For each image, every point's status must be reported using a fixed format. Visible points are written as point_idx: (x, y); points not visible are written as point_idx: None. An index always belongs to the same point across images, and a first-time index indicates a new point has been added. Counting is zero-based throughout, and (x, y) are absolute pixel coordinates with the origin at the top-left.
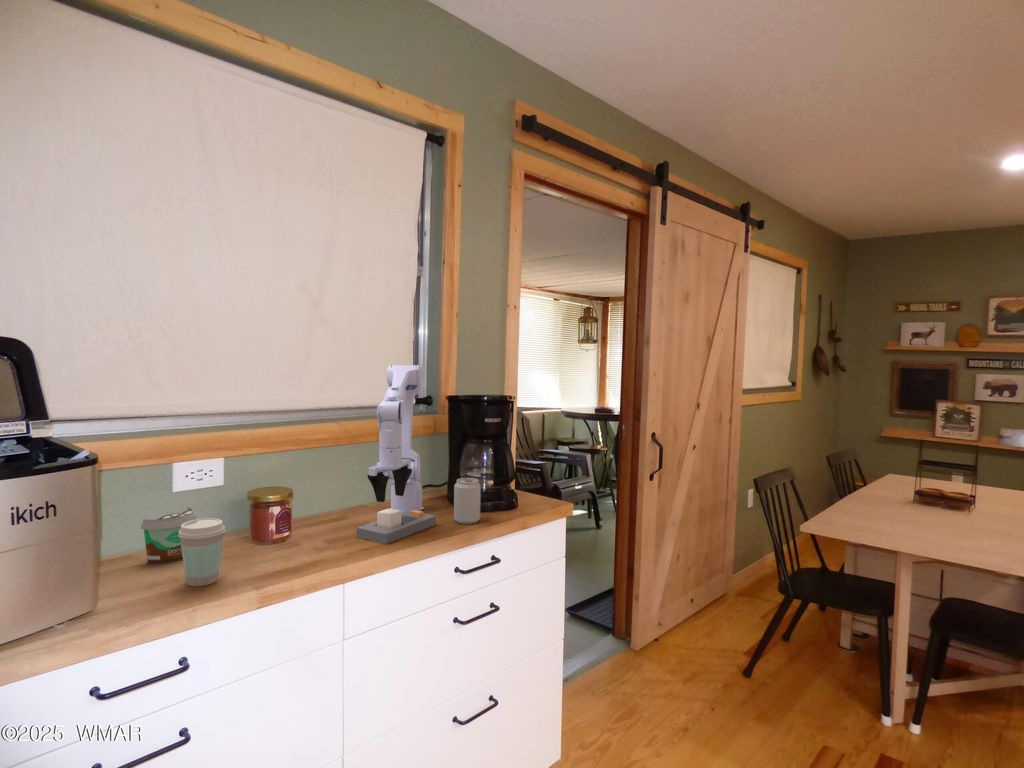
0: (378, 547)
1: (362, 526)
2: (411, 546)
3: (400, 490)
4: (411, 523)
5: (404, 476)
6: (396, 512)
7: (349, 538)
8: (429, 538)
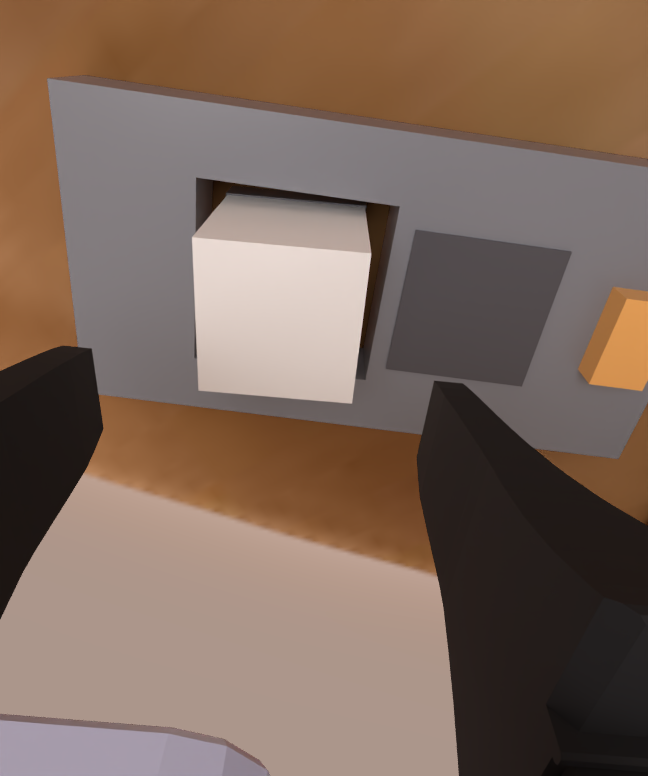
0: (40, 352)
1: (109, 106)
2: (167, 484)
3: (433, 483)
4: (380, 408)
5: (465, 720)
6: (280, 397)
7: (30, 31)
8: (327, 498)
